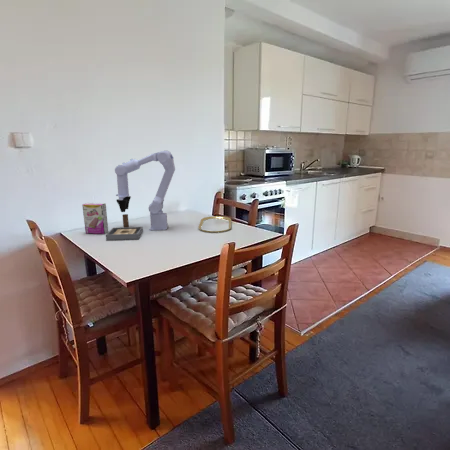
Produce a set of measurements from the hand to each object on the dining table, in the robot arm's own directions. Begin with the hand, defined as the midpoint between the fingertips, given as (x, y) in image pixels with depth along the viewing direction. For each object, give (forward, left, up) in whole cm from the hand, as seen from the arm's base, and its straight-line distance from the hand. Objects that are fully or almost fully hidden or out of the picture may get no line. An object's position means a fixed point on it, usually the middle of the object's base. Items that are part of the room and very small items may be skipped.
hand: (124, 210), depth 185 cm
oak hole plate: (-3, +16, -11) cm, 19 cm away
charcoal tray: (-3, +16, -11) cm, 19 cm away
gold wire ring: (-52, -3, -11) cm, 53 cm away
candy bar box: (+14, +8, -11) cm, 19 cm away
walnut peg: (0, 0, -11) cm, 11 cm away
